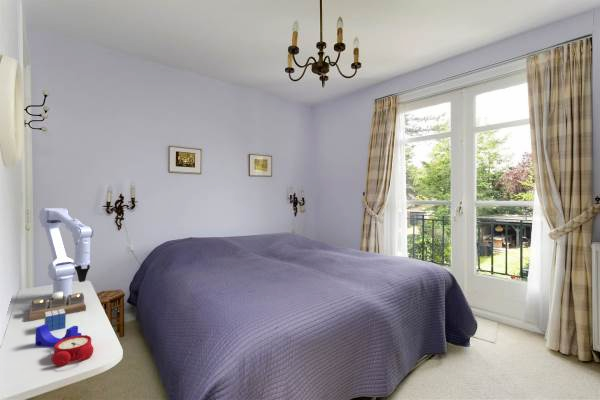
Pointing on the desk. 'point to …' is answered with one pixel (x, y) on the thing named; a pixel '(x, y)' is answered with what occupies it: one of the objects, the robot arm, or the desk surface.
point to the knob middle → (57, 295)
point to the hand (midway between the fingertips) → (81, 281)
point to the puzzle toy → (55, 319)
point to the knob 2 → (76, 295)
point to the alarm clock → (72, 350)
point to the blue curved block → (48, 339)
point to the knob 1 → (38, 301)
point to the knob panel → (56, 306)
